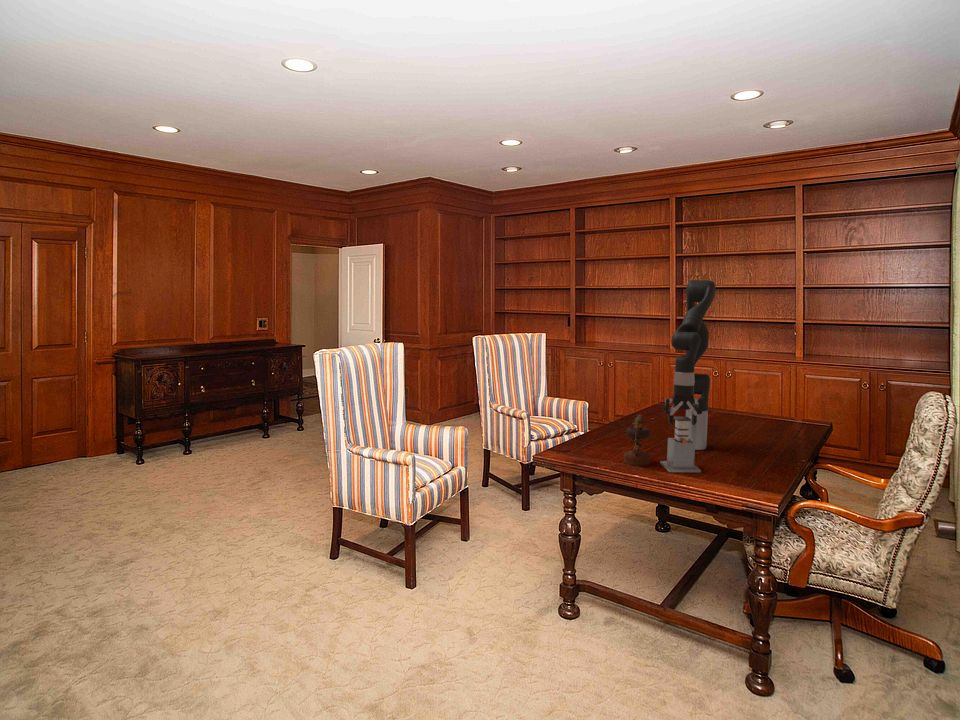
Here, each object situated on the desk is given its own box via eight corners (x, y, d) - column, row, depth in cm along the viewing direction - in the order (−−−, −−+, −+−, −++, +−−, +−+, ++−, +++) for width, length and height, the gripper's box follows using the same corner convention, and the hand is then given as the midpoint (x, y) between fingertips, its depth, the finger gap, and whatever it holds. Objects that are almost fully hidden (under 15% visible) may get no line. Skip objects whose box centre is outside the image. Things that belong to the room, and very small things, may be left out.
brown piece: (652, 467, 233) (650, 417, 231) (624, 468, 235) (621, 418, 233) (650, 457, 248) (647, 410, 246) (623, 458, 250) (620, 411, 248)
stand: (660, 463, 239) (661, 433, 238) (690, 463, 239) (691, 434, 238) (669, 472, 227) (670, 441, 226) (700, 472, 227) (702, 441, 226)
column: (671, 463, 236) (673, 416, 234) (684, 463, 236) (686, 416, 234) (675, 466, 231) (677, 419, 229) (688, 466, 231) (690, 419, 229)
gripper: (699, 382, 233) (697, 422, 235) (662, 381, 234) (661, 422, 235) (706, 385, 226) (703, 426, 228) (668, 384, 226) (666, 426, 228)
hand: (682, 424), depth 231 cm, fingers open, 8 cm apart
